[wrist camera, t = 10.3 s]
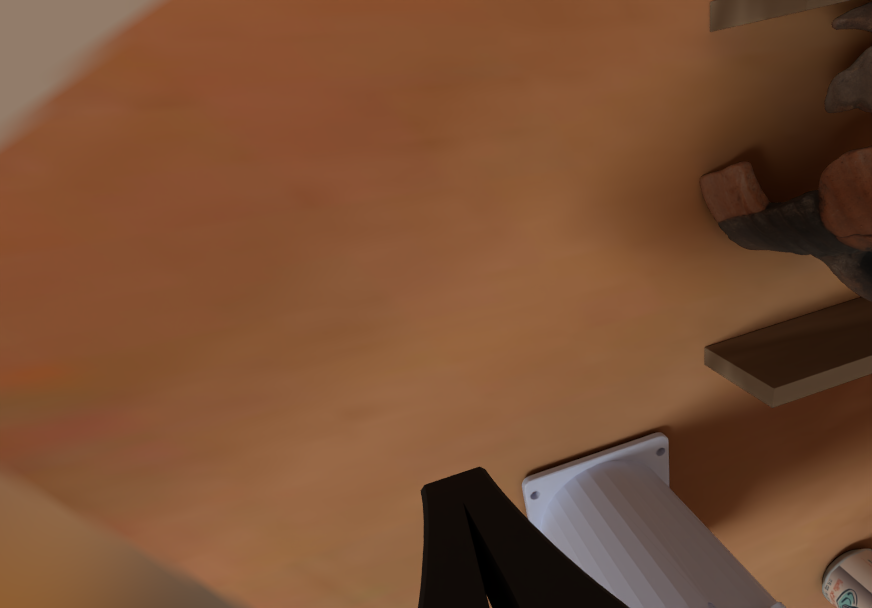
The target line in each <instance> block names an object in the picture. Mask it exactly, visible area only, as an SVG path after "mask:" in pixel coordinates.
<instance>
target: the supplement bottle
mask: <svg viewBox="0 0 872 608" xmlns="http://www.w3.org/2000/svg"><path fill="white" fill-rule="evenodd" d="M822 592H823V594H824V596H825V598H826V599H827V600H828V601H830V602H831V603H832V604H833V605H834V606H835V607H836V608H872V549H869V548H868V549H859V550H858V549H857V550H851V551H848V552H846V553H844V554H842V555H841V556H839V557H838V558H836V559H835V560H834V561H833V562H832V563H831V564H830V565H829V567H828V568H827V570H826V571H825V574H824V577H823V584H822Z"/></svg>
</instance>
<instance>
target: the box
mask: <svg viewBox="0 0 872 608" xmlns="http://www.w3.org/2000/svg"><path fill="white" fill-rule="evenodd" d="M845 1H849V0H715V1H712V2H710V32H712V31H717V30H721V29H726V28H730V27H734V26H739V25H743V24H748V23H752V22H757V21H761V20H766V19H770V18H775V17H779V16H784V15H788V14H792V13H797V12H801V11H806V10H810V9H814V8H819V7H823V6H827V5H832V4H836V3H840V2H845ZM705 365H706V366H708V367H709V368H711V369H712V370H714V371H715V372H717V373H719V374H720V375H722V376H723V377H725V378H726V379H728V380H729V381H731V382H733V383H734V384H736V385H737V386H739V387H740V388H742V389H744V390H745V391H747V392H748V393H750V394H751V395H753V396H754V397H756V398H758V399H759V400H761V401H762V402H764V403H765V404H767V405H768V406H770V407H772V408H774V407H777V406H780V405H782V404H785V403H788V402H791V401H794V400H797V399H800V398H803V397H806V396H808V395H811V394H814V393H817V392H820V391H823V390H826V389H829V388H832V387H835V386H837V385H840V384H843V383H846V382H849V381H852V380H855V379H858V378H861V377H863V376H866V375H869V374H872V302H871V301H869V300H867V299H865V298H863V297H860V298H857V299H854V300H851V301H848V302H845V303H842V304H839V305H835V306H832V307H829V308H826V309H823V310H820V311H817V312H814V313H811V314H807V315H804V316H801V317H798V318H795V319H792V320H789V321H786V322H783V323H779V324H776V325H773V326H770V327H767V328H764V329H761V330H758V331H755V332H752V333H748V334H745V335H742V336H739V337H736V338H733V339H730V340H727V341H724V342H720V343H717V344H714V345H711V346H708V347H705Z"/></svg>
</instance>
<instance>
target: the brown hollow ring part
mask: <svg viewBox="0 0 872 608" xmlns="http://www.w3.org/2000/svg"><path fill="white" fill-rule="evenodd" d="M832 27H833V28H834V29H862V30H866V31H870V32H872V2H870V3H867V4H865V5H863V6H860V7H857V8H854V9H852V10H850V11H848V12H846V13H845V14H843V15H841V16H839V17H837V18H836V19H834V20H833V22H832ZM824 104H825V110H826V111H827V112H828V113H836V112H842V111H847V110H851V109H854V108H859V109H861V110H863V111H866V112H872V46H871V47H869V48H868V49H866V50H865V51H864V52H863V53H862V54H861V55H860V56H859V57H858V58H857V59H856V61H855V62H854V63H853V64H852V65H851V66H850V67H849V68H847V69H846V70H844V71H842V72H840V73H839V74H838V75H836V76H835V77H834V79H833V80H832V82H831V83H830V86H829V88H828V91H827V95H826V99H825V103H824ZM700 186H701V189H702V194H703V197H704V199H705V201H706V203H707V206H708V209H709V210H710V212H711V213H712V215H713V216H714V219H715V220H716V221H717V222H718V225H719V226H720V228H721V229H722V230H723V231H724V232H725V233H726V234H727V235H728V237H729V239H730V240H732V241H734V242H735V243H737V244H738V245H739V246H741V247H744V248H746V249H750V250H771V251H779V252H791V253H795V254H799V255H808V254H812V255H813V256H814V257H816V258H818V259H820V260H822V261H823V262H824V263H825V264H826V265H827V266H828V267H829V268H830V270H831V271H832V272H833V273H834V274H835V275H836V276H837V277H838V279H840V281H841V282H842V283H844V284H845V285H846V286H847V287H848V288H850V289H851V290H852V291H854V292H855V293H857V294H858V295H860V296H861V297H863V298H865V299H867V300H869V301H871V302H872V146H870V147H866V148H861V149H855V150H851V151H848V152H846V153H844V154H843V155H841V157H840V158H838V159H836V160H835V161H833V162H832V163H830V164H829V165H828V166H827V167H826V168H825V169H824V170H823V172H822V174H821V177H820V181H819V189H818V190H814V191H810V192H807V193H805V194H803V195H801V196H799V197H796V198H793V199H791V200H789V201H787V202H778V203H770V202H769V200H768V198H767V196H766V195H765V194H764V193H763V192H762V190H761V186H760V185H759V183H758V181H757V178H756V176H755V174H754V171H753V168H752V165H751V164H750V163H749V162H747V161H742V162H738V163H736V164H733V165H730V166H728V167H726V168H725V169H724V170H721V171H716V172H712V173H709V174H706V175H703V176H701V178H700Z"/></svg>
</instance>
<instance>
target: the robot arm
mask: <svg viewBox="0 0 872 608" xmlns="http://www.w3.org/2000/svg"><path fill="white" fill-rule="evenodd" d="M522 489H523V495H524V500H525V506H526V511H527V517H528V519H527V518H526V517H525V516H524V515H523V514H522V513H521V511H520V510H519V509H518V508H517V507H516V506H515V505H514V504H513V503H512V502H511V501H510V499H509V498H508V497H507V496H506V495H505V494H504V493H503V492H502V490H501V489H500V488H499V487H498V486H497V484H496V483H495V482H494V481H493V479H492V478H491V477H490V475H489V474H488V473H487V471H486V470H485V469H484V468H481V467H477V468H474V469H471V470H468V471H465V472H462V473H459V474H456V475H453V476H450V477H447V478H444V479H441V480H438V481H435V482H432V483H429V484H426V485H424V487H423V488H422V490H421V496H422V502H423V514H424V546H423V562H422V577H421V588H420V596H419V604H418V608H489V604H488V599H489V601H490V604H491V606H492V608H786V607H785V606H784V605H783V604H782V603H781V602H777V601H776V600H775V599H774V598H773V597H772V596H771V595H770V594H769V593H768V592H767V591H766V590H765V589H764V588H763V586H762V585H761V584H760V583H759V582H758V581H757V580H756V579H755V578H754V577H753V576H752V575H751V574H750V573H749V572H748V571H747V569H746V568H745V567H744V566H743V565H742V564H741V563H740V562H739V561H738V560H737V559H736V558H735V557H734V556H733V555H732V554H731V553H730V551H729V550H728V549H727V548H726V547H725V546H724V545H723V544H722V543H721V542H720V541H719V540H718V539H717V538H716V537H715V536H714V535H713V533H712V532H711V531H710V530H709V529H708V528H707V527H706V526H705V525H704V524H703V523H702V522H701V521H700V520H699V519H698V518H697V516H696V515H695V514H694V513H693V512H692V511H691V510H690V509H689V508H688V507H687V506H686V505H685V504H684V503H683V502H682V501H681V500H680V498H679V497H678V496H677V495H676V494H675V493H674V492H673V491H672V490H671V489H670V488H669V441H668V438H667V437H666V436H665V435H664V434H663V433H661V432H657V433H653V434H651V435H648V436H645V437H642V438H639V439H636V440H633V441H630V442H627V443H624V444H621V445H618V446H615V447H612V448H610V449H607V450H604V451H601V452H598V453H595V454H592V455H589V456H586V457H583V458H580V459H577V460H574V461H571V462H569V463H566V464H563V465H560V466H557V467H554V468H551V469H548V470H545V471H542V472H539V473H536V474H533V475H530V476H528V477H526V478H525V479H524V481H523V483H522ZM535 491H536V492H535ZM533 492H535V493H533ZM532 493H533V494H532ZM486 594H487V595H486ZM487 597H488V599H487Z"/></svg>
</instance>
